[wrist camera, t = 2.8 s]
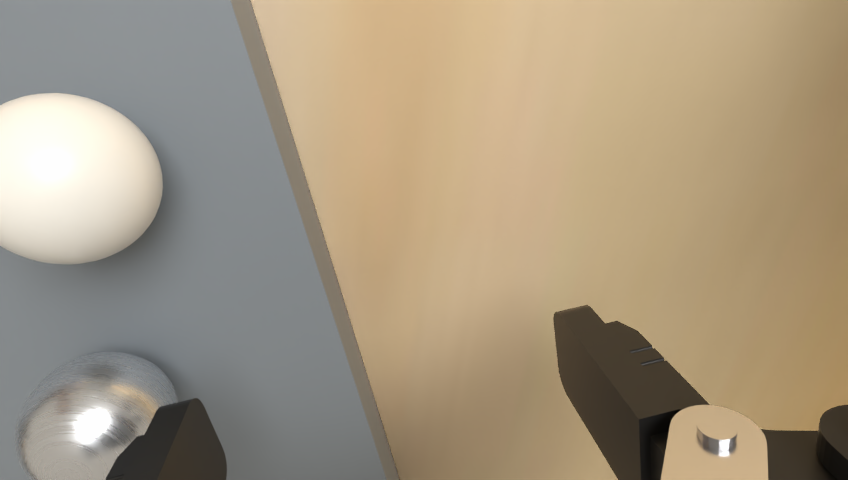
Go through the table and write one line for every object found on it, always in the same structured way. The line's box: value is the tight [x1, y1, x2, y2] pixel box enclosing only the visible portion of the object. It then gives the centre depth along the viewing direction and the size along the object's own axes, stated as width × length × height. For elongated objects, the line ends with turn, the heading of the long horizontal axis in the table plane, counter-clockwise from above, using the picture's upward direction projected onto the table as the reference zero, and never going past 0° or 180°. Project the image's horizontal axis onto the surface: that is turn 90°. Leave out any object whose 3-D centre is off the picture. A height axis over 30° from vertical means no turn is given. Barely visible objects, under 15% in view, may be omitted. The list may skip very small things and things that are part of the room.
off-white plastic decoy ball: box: [0, 93, 163, 264], centre depth 11 cm, size 4×4×4 cm
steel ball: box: [15, 352, 178, 480], centre depth 13 cm, size 4×4×4 cm
